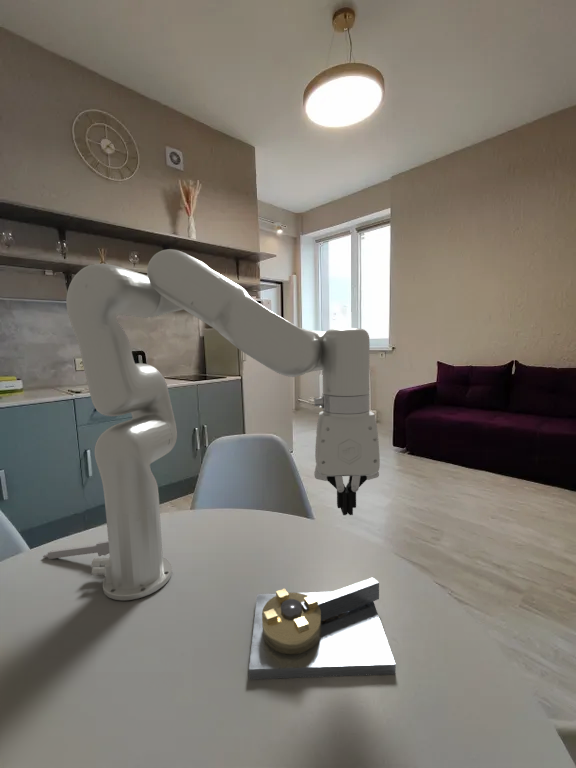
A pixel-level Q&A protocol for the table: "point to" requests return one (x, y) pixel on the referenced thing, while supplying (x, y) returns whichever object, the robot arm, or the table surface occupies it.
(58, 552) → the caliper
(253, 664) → the base plate
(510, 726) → the table surface
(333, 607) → the gold disc with handle
